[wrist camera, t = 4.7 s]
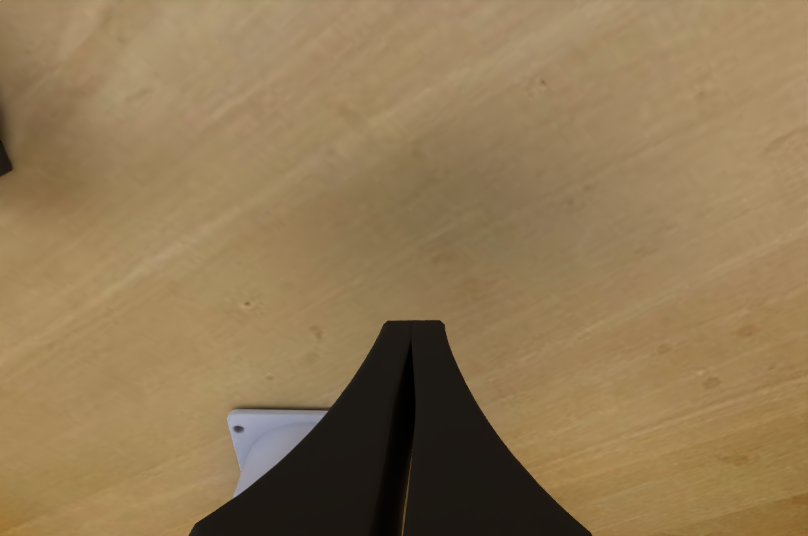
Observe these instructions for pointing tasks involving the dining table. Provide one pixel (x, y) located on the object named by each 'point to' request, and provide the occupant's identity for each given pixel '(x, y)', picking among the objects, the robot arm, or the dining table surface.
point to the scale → (4, 162)
